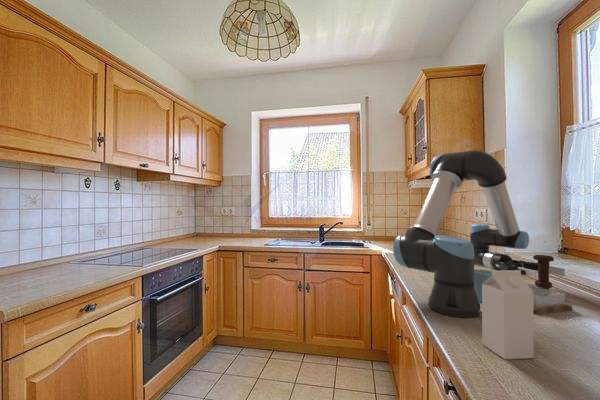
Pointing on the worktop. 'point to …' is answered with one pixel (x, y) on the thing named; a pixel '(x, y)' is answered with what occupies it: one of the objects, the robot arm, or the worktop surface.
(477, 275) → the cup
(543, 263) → the bolt
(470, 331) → the worktop surface
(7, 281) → the worktop surface
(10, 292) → the worktop surface
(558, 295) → the hinge base
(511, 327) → the milk carton
